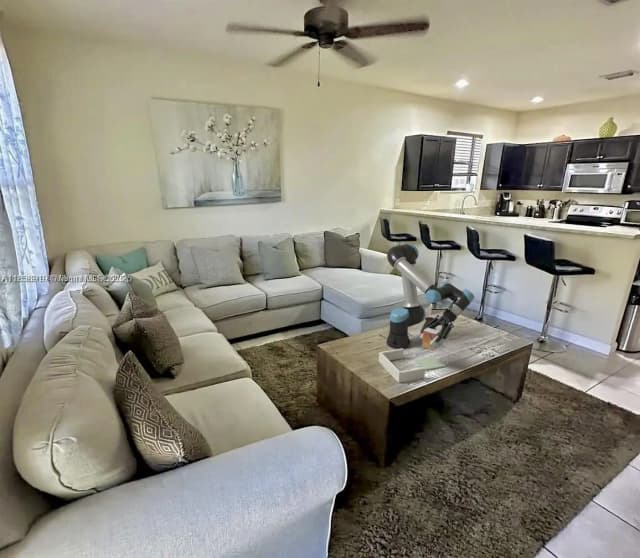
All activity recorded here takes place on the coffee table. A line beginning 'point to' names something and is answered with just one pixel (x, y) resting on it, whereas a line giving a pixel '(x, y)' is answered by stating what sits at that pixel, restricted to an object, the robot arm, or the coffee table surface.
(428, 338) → the small box
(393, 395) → the coffee table surface
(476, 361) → the coffee table surface
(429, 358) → the sage pad
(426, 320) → the coffee pot
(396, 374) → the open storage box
